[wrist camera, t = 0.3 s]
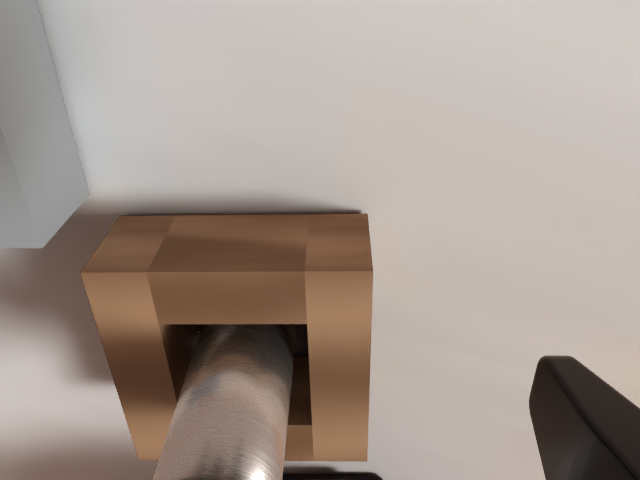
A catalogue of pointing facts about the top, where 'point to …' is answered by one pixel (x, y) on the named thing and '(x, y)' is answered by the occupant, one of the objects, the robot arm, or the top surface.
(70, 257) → the top surface
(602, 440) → the robot arm
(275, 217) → the pin mount
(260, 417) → the lock pin
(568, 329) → the top surface
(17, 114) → the socket block
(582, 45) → the top surface
